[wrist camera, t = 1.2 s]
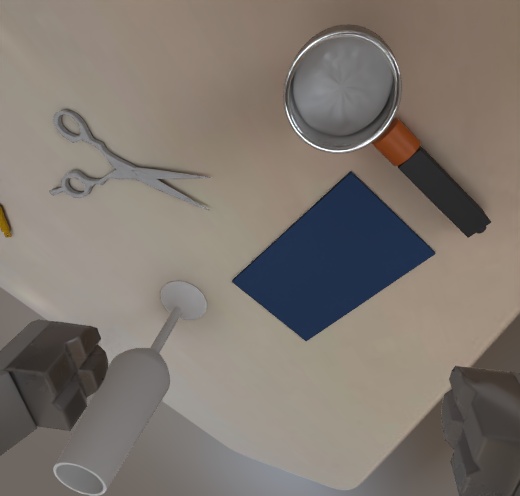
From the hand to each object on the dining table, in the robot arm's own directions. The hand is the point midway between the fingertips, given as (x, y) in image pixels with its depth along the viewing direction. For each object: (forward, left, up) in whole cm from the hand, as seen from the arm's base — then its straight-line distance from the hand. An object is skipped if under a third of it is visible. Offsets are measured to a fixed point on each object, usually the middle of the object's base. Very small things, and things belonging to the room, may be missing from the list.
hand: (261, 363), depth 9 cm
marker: (-2, +13, -32) cm, 35 cm away
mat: (+13, +13, -32) cm, 37 cm away
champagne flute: (+31, +4, -32) cm, 45 cm away
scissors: (+20, -11, -32) cm, 39 cm away
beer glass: (-3, -1, -32) cm, 33 cm away
